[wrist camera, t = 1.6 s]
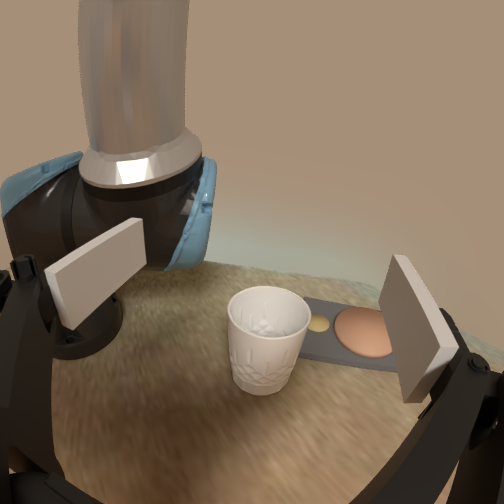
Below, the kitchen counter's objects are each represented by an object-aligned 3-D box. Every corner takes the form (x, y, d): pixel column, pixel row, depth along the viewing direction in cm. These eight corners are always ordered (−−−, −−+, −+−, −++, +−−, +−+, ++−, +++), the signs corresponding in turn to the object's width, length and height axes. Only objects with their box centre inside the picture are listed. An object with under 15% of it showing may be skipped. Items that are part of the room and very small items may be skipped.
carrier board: (291, 355, 33) (293, 345, 32) (303, 301, 43) (305, 292, 42) (399, 372, 30) (404, 363, 29) (390, 317, 40) (394, 309, 39)
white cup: (243, 410, 25) (249, 349, 21) (216, 359, 31) (215, 294, 27) (305, 385, 29) (327, 323, 24) (273, 342, 35) (283, 279, 30)
